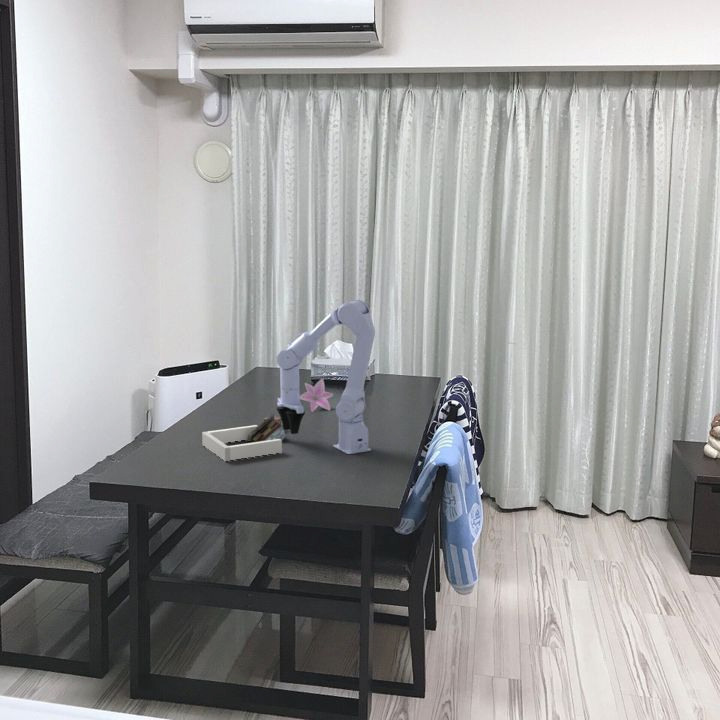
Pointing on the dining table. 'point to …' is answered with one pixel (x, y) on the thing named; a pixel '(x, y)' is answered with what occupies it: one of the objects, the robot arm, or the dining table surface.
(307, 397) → the lily
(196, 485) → the dining table surface
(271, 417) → the chocolate cake
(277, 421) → the walnut block
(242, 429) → the socket bay
